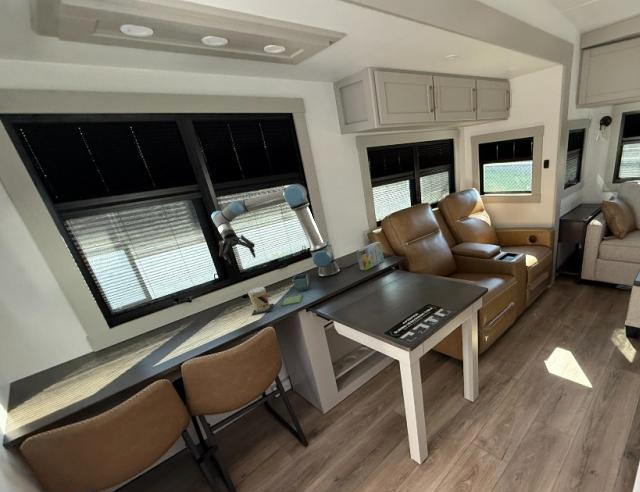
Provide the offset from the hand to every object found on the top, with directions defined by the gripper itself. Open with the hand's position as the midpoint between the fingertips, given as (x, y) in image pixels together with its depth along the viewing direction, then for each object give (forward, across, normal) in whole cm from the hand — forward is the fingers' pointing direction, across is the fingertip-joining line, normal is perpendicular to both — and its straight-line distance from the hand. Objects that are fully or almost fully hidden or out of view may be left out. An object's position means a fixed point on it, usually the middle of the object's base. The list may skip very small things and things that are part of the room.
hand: (243, 259), depth 185 cm
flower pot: (+26, -27, -13) cm, 40 cm away
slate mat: (+31, +2, -8) cm, 32 cm away
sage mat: (+34, -14, -5) cm, 37 cm away
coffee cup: (+31, +2, -8) cm, 32 cm away
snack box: (+31, -79, -9) cm, 85 cm away
